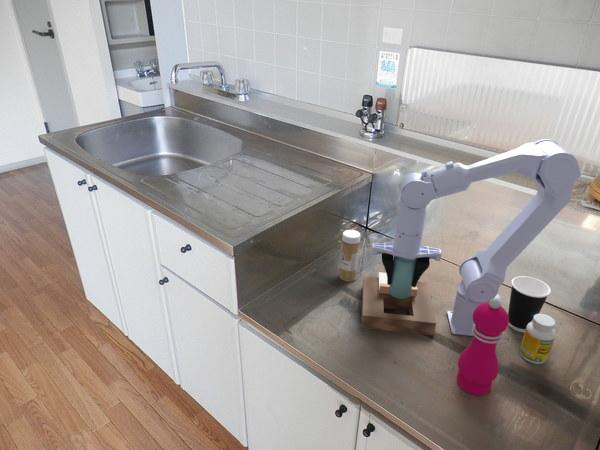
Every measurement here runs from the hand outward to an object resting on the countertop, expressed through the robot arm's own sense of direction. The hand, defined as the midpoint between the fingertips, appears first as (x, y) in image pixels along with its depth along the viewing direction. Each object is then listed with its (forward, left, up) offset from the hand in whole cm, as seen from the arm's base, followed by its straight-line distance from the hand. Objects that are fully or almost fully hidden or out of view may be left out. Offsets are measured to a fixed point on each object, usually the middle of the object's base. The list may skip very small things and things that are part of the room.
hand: (401, 283), depth 101 cm
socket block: (0, -3, -10) cm, 10 cm away
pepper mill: (-14, +18, -10) cm, 25 cm away
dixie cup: (-28, -2, -10) cm, 30 cm away
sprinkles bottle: (+12, -15, -10) cm, 22 cm away
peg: (0, 0, -2) cm, 2 cm away
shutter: (0, -8, -6) cm, 10 cm away
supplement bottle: (-28, +8, -10) cm, 31 cm away
